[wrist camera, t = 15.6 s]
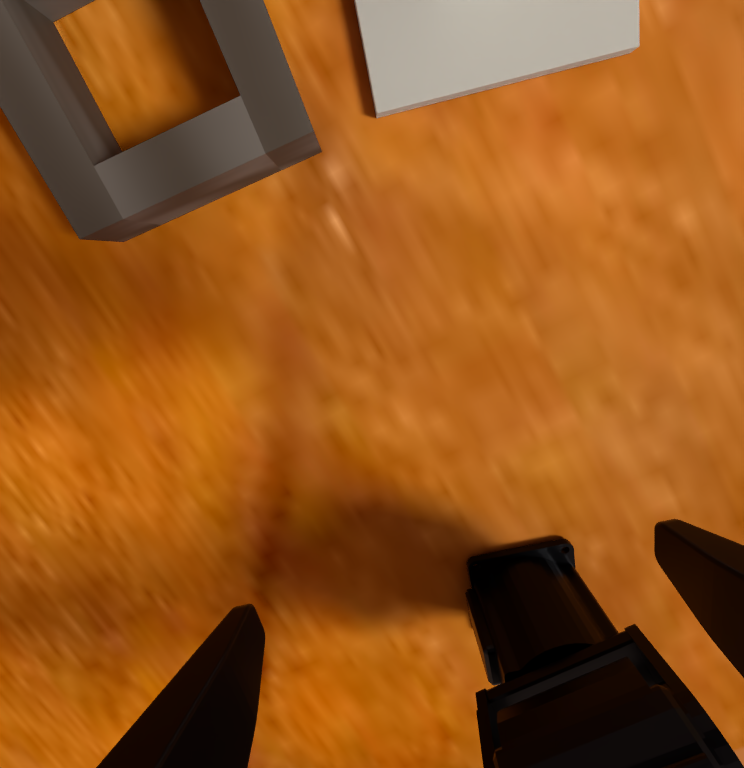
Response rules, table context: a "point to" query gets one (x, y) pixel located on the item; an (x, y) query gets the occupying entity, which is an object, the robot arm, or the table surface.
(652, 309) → the table surface
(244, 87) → the block
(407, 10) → the rubber mat
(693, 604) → the robot arm
